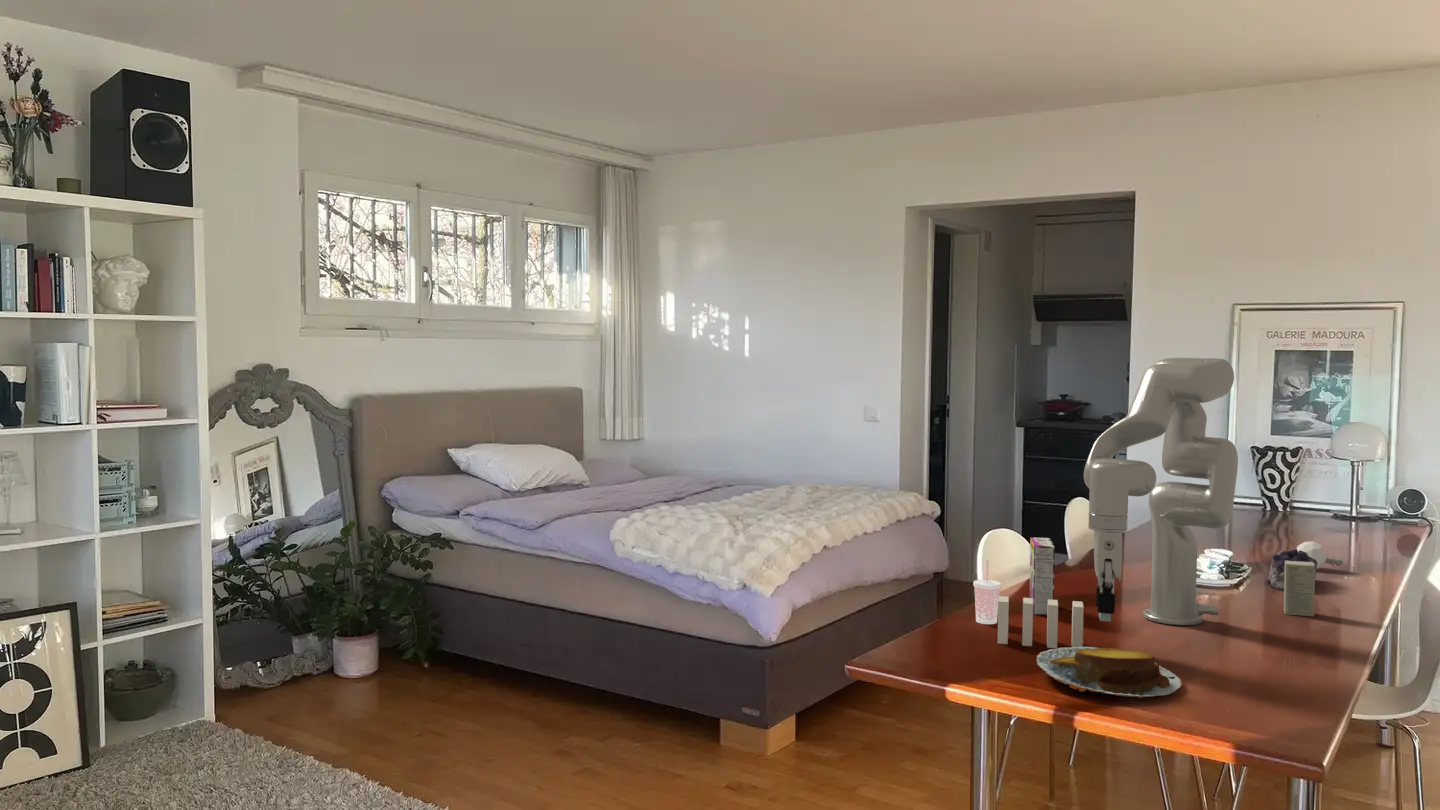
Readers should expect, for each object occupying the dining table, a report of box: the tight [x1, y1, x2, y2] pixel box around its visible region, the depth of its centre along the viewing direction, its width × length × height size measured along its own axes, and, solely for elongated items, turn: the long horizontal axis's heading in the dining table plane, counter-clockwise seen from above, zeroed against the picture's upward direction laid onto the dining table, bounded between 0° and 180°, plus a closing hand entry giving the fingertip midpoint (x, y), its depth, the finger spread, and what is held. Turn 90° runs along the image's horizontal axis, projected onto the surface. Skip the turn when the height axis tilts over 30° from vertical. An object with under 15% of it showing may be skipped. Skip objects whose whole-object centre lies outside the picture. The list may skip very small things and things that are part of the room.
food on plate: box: [1035, 646, 1183, 699], centre depth 199 cm, size 26×26×7 cm
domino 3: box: [1046, 599, 1059, 649], centre depth 222 cm, size 2×5×9 cm, turn 163°
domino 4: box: [1071, 600, 1085, 647], centre depth 221 cm, size 2×5×9 cm, turn 164°
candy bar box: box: [1029, 537, 1056, 616], centre depth 252 cm, size 11×5×16 cm, turn 168°
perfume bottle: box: [1296, 541, 1344, 570], centre depth 298 cm, size 8×8×12 cm
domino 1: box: [997, 595, 1010, 645], centre depth 225 cm, size 2×5×9 cm, turn 163°
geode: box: [1266, 548, 1318, 592], centre depth 280 cm, size 20×12×10 cm, turn 145°
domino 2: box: [1021, 597, 1034, 647], centre depth 224 cm, size 2×5×9 cm, turn 164°
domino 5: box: [1098, 576, 1112, 623], centre depth 219 cm, size 2×5×9 cm, turn 163°
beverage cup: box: [972, 560, 1002, 625], centre depth 241 cm, size 6×6×14 cm
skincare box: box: [1283, 560, 1316, 617], centre depth 249 cm, size 6×4×12 cm
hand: (1105, 609), depth 219 cm, fingers closed on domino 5, 4 cm apart
